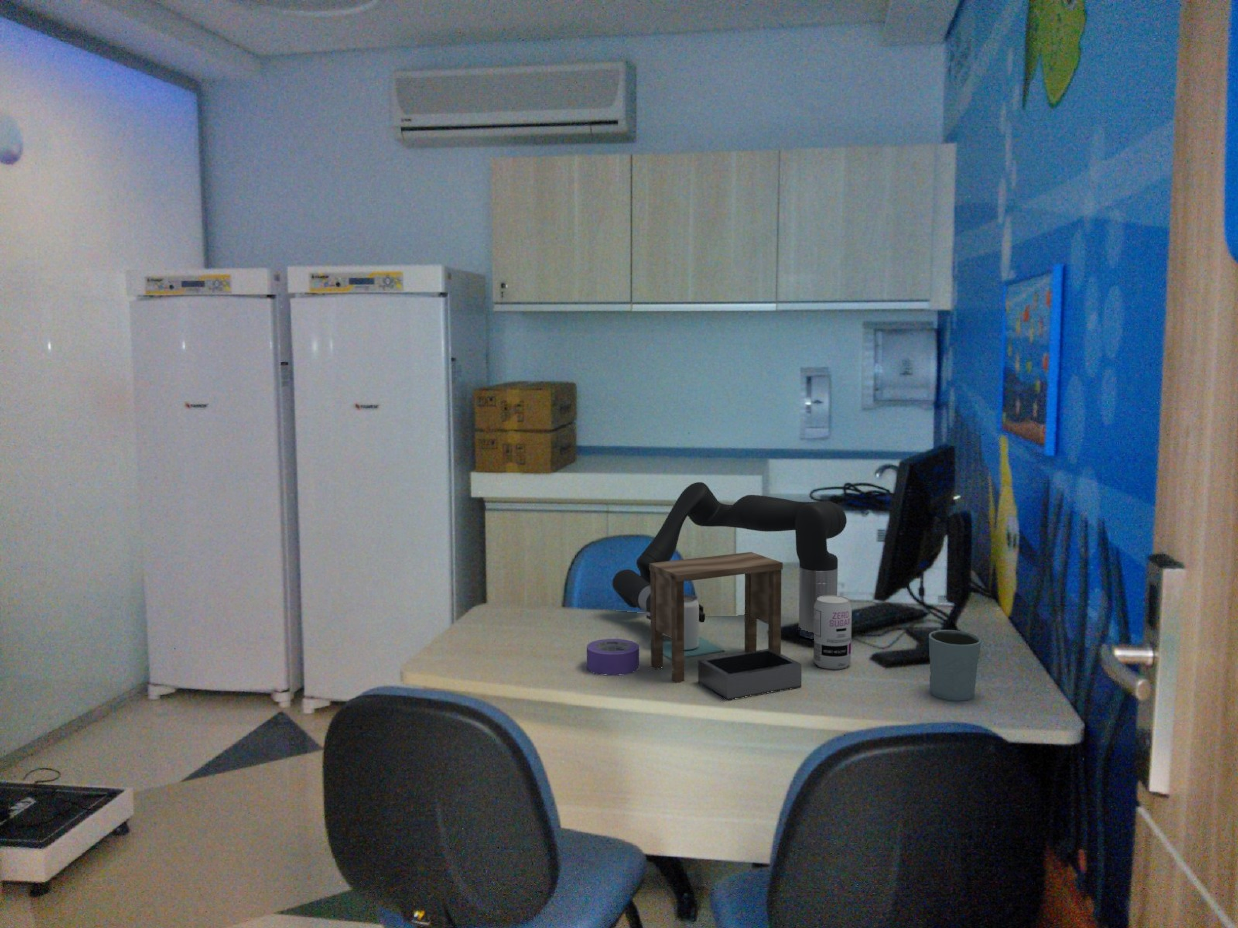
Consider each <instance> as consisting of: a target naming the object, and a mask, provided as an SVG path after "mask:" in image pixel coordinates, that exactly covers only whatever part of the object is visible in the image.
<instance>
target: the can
mask: <svg viewBox="0 0 1238 928" xmlns="http://www.w3.org/2000/svg"><path fill="white" fill-rule="evenodd" d="M699 604H700V603H699V601H698V596H697V595H693V594H688V593H684V650H693V649H696V648H697V647H698V646H699V637H700V622H699Z"/></svg>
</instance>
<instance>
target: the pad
mask: <svg viewBox="0 0 1238 928" xmlns="http://www.w3.org/2000/svg"><path fill="white" fill-rule="evenodd" d="M647 645H648V647H649V648H651V643H650V644H647ZM718 652H719V653H724V652H725V649H724V648H721V647H720V646H717V644H714V643H713V642H710V641H709V640H707V639H705V638H702V637H701V636H699V646H698V647H697V648H696V649H693V650H684V659H687V658H686V657H688V658H694V657H699V656H705V655H704V654H707V655H711V654H718ZM663 657H665V658H667V657H668V659H669V658H670V659H669V660H671V661H672V640H668V641H663Z"/></svg>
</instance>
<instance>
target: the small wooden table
mask: <svg viewBox="0 0 1238 928" xmlns="http://www.w3.org/2000/svg"><path fill="white" fill-rule="evenodd" d="M783 566H784V564H783V562H782V561H779V560H777V559H774V558H773V559H772V558H770V557H768V556H764V555H761V554H758V553H755V552H752V551H748V552H740V553H730V554H721V555H711V556H702V557H697V558H694V557H693V558H685V559H678V560H677V559H676V560H675V559H674V560H670V561H666V562H657V563H649V570H650V591H651V620H650V644H651V647H650V667H651V668H653V669H654V668H655V669H654V670H658V669H657V668H659V669H662V668H661V667H663V668H664V655H663V642H664V636H666V637H668V638H670V639H671V641H672V660H671V681H673V682H674V681H675V683H676V684H677V682H678V683H682V682H681V681H684V682H685V658H684V594H685V582H690V581H699V580H707V579H713V578H714V579H715V578H723V577H731V576H732V577H733V576H739V575H744V652H751V651H757V650H758V649H757V646H758V645H757V644H758V643H757V637H758V635H757V632H758V631H757V629H758V628H757V626H758V621H757V620H759V621H760V622H762V623H764V624H767V625H768V627H767V628H768V634H767V636H768V639H767V642H768V643H767V649H769V648H770V649H772V650H774V651H776V652H778V653H780V654H782V649H781V648H782V570H783V569H784V567H783Z"/></svg>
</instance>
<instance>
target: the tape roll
mask: <svg viewBox="0 0 1238 928" xmlns="http://www.w3.org/2000/svg"><path fill="white" fill-rule="evenodd" d="M637 669H638V670H639V669H640V645H639V644H638V643H637V642H635V641H632V640H628V639H622V638H603V639H597V640H594V641H591V642H589V643H588V644H587V645H586V670H588V671H589V672H591V671H592V672H591V673H593V672H594V673H593V674H596V673H597V674H596V675H600V674H607V675H606V676H620V675H619V674H624V675H629V674H632V673H634V672H633V671H635V672H637V671H638V670H637ZM628 673H629V674H628Z"/></svg>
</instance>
